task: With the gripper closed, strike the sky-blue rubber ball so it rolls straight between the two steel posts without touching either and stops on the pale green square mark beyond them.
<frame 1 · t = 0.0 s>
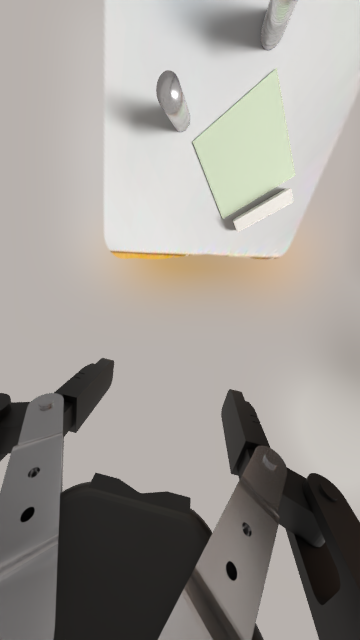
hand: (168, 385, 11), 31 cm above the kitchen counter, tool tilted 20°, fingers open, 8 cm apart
stopper wall: (259, 211, 30), on the kitchen counter
post 2: (272, 30, 20), on the kitchen counter
post 1: (181, 119, 25), on the kitchen counter
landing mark: (244, 158, 27), on the kitchen counter
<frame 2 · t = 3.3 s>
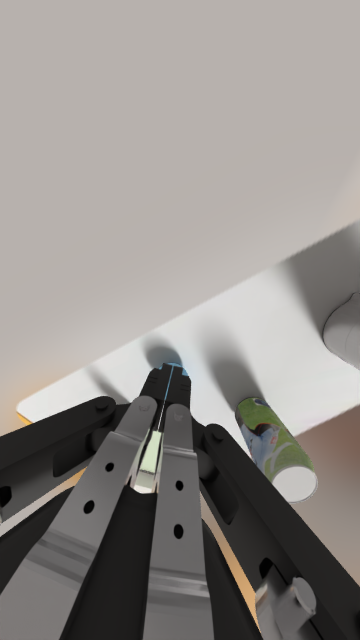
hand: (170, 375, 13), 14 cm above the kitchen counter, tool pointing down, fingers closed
stopper wall: (148, 476, 37), on the kitchen counter
beverage can: (253, 405, 30), on the kitchen counter
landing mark: (154, 451, 35), on the kitchen counter
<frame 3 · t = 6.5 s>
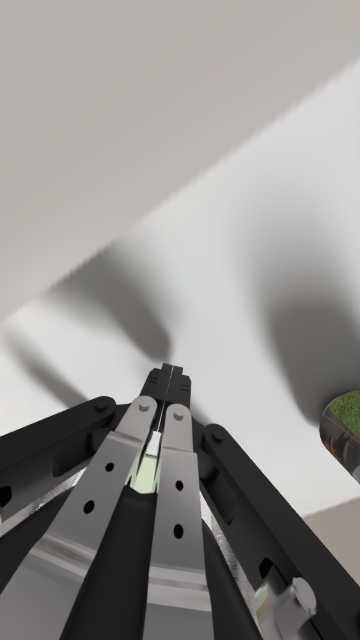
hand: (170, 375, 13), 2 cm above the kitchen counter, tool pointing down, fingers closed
beverage can: (353, 406, 14), on the kitchen counter
post 2: (221, 451, 16), on the kitchen counter
post 1: (94, 419, 17), on the kitchen counter
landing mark: (143, 493, 19), on the kitchen counter
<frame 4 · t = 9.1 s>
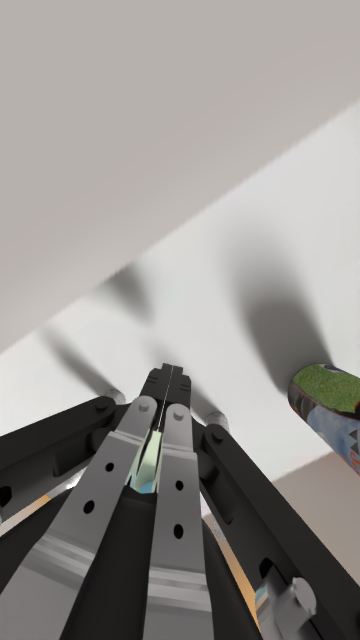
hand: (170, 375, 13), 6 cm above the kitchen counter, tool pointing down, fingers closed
beverage can: (314, 379, 18), on the kitchen counter
post 2: (216, 421, 20), on the kitchen counter
post 1: (115, 399, 21), on the kitchen counter
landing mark: (154, 462, 23), on the kitchen counter
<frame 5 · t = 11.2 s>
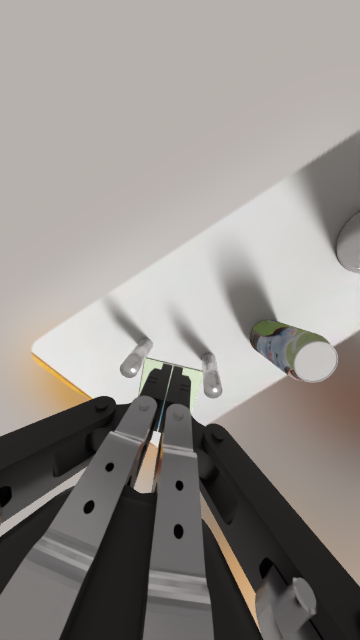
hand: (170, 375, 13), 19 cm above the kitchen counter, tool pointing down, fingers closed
beverage can: (267, 331, 30), on the kitchen counter
post 2: (208, 359, 33), on the kitchen counter
post 1: (146, 344, 33), on the kitchen counter
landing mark: (168, 388, 36), on the kitchen counter
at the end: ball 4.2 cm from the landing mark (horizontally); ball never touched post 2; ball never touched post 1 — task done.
